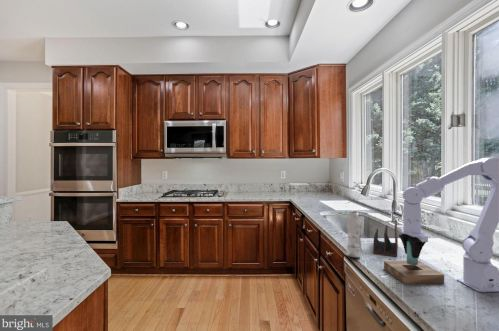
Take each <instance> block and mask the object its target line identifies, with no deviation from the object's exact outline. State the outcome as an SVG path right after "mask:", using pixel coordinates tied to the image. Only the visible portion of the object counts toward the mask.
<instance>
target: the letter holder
mask: <svg viewBox="0 0 499 331" xmlns="http://www.w3.org/2000/svg"><path fill="white" fill-rule="evenodd" d="M383 233H384V234H383V241H380V240H379V228H376V230H375V231H374V235H373V244H372V246H373V247H372V250H373V251H372V253H373V254H374V255H380V256H388V257H395V258H398V249H399V248H398V246H399V242H398V241H399V240H398V237H399V235H398V220H397V219H395V221H394V242H391V240H390V237H389V236H388V224H386V225H385V226H384V231H383Z"/></svg>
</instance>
